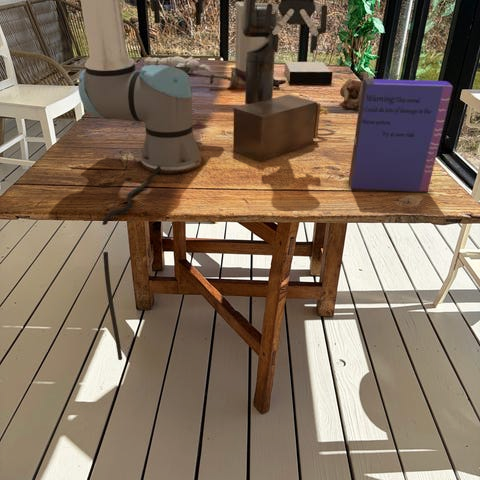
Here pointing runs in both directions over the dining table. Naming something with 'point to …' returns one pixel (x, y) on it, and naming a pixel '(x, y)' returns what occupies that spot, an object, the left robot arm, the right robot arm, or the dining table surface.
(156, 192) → the dining table surface
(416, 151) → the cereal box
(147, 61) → the toy
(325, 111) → the drawer
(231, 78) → the figurine
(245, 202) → the dining table surface
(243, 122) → the cabinet
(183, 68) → the figurine character
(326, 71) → the disc drive
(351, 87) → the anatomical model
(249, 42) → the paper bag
